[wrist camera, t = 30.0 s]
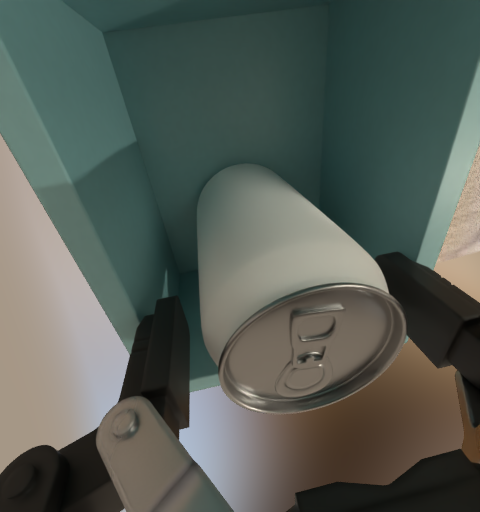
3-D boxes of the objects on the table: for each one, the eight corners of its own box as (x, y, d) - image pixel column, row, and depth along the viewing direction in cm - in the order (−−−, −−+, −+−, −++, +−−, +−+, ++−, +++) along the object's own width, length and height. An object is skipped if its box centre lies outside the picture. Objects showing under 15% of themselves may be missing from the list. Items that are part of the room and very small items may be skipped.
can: (201, 254, 19) (211, 435, 8) (190, 164, 15) (187, 287, 5) (284, 246, 19) (384, 403, 9) (292, 158, 16) (464, 256, 6)
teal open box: (322, 248, 21) (407, 343, 13) (171, 278, 20) (156, 400, 12) (339, -19, 13) (628, -256, 4) (78, 13, 12) (-203, -209, 3)
